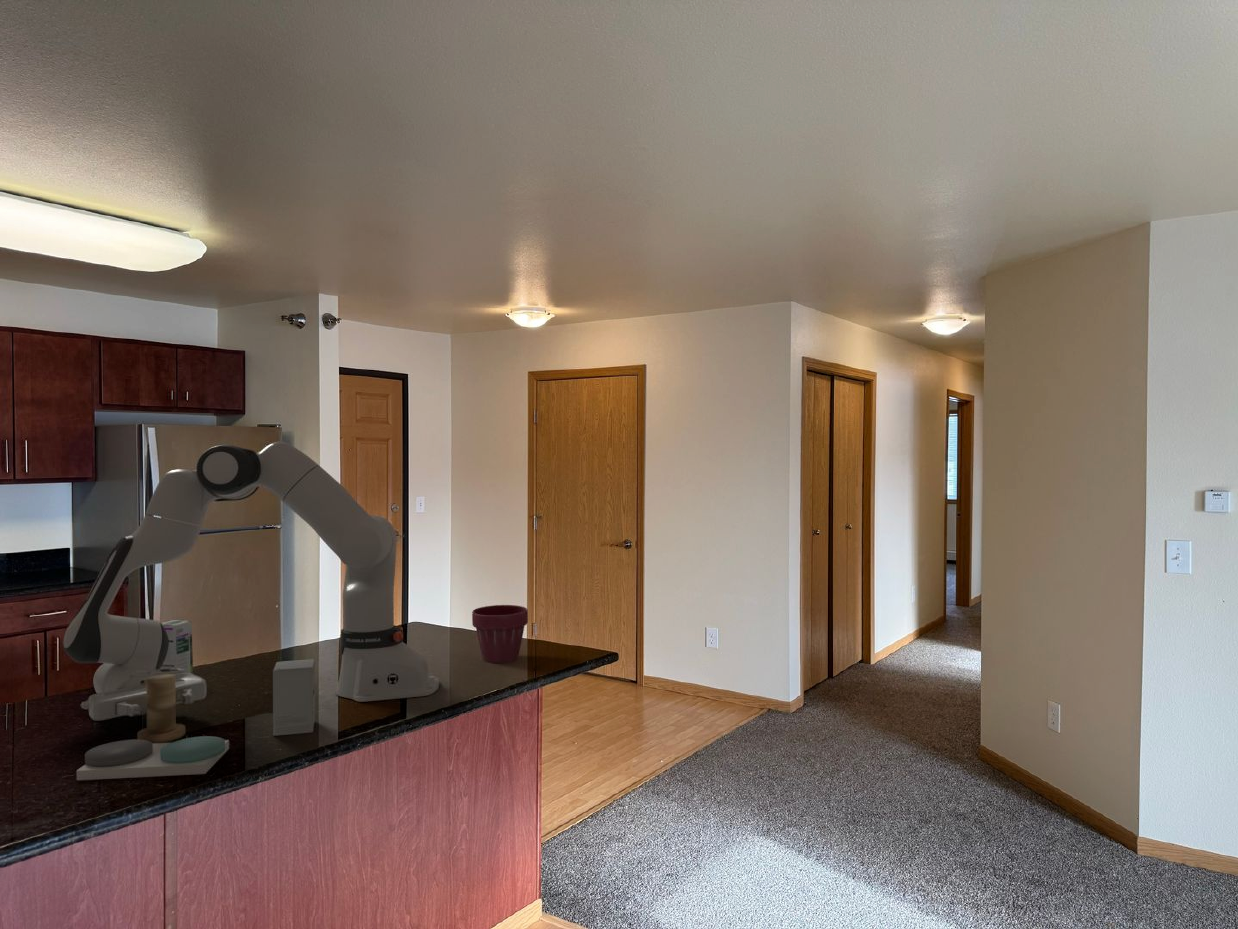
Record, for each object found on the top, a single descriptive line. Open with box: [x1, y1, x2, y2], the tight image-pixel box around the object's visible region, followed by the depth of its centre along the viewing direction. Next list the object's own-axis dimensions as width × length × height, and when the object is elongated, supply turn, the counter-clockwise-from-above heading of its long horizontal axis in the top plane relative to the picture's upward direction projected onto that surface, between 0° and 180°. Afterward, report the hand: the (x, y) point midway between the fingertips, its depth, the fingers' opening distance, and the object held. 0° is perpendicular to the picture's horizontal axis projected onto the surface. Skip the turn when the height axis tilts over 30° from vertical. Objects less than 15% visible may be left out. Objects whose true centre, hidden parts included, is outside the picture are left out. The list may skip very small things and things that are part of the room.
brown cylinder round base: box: [136, 674, 186, 744], centre depth 159 cm, size 8×8×11 cm
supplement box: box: [272, 658, 316, 737], centre depth 164 cm, size 7×7×13 cm
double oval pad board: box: [76, 735, 230, 781], centre depth 145 cm, size 22×12×3 cm, turn 97°
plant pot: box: [471, 604, 529, 664], centre depth 218 cm, size 14×14×13 cm
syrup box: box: [160, 619, 194, 674], centre depth 196 cm, size 6×6×14 cm
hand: (162, 705), depth 159 cm, fingers open, 8 cm apart
